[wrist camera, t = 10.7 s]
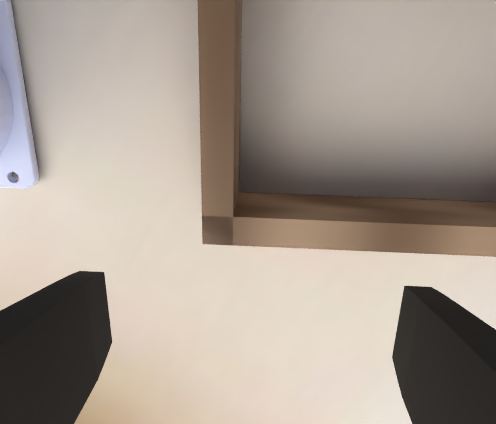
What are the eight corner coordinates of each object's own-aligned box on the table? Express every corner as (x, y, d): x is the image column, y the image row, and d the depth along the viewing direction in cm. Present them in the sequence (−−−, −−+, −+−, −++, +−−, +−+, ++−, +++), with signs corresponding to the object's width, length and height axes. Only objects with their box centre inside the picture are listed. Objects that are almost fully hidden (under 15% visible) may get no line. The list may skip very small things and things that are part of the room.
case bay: (213, 216, 20) (202, 244, 17) (209, -108, 15) (194, -144, 12) (534, 229, 19) (579, 260, 16) (630, -106, 14) (715, -143, 12)
